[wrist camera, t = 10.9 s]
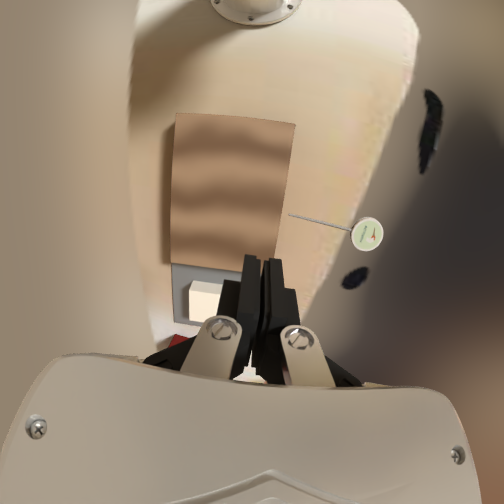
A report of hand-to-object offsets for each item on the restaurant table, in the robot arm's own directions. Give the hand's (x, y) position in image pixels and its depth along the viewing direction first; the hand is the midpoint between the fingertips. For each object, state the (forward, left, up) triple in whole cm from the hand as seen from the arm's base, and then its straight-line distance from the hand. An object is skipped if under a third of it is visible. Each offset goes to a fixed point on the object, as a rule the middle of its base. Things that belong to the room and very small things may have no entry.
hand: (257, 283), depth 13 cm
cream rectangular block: (+20, -4, -23) cm, 30 cm away
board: (+2, -4, -26) cm, 26 cm away
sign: (+5, +12, -26) cm, 29 cm away
